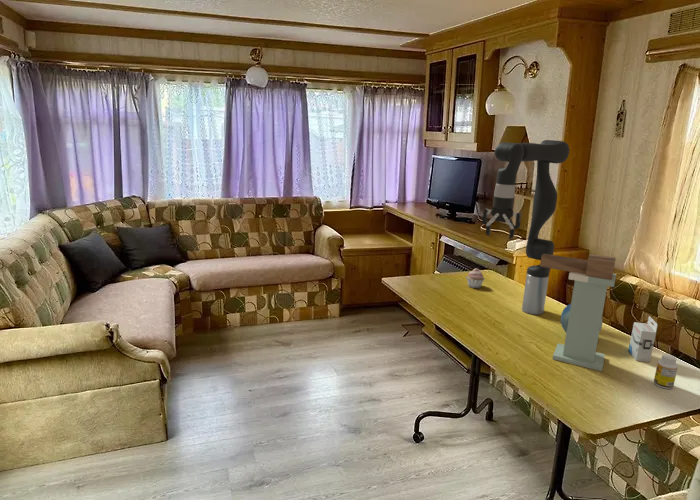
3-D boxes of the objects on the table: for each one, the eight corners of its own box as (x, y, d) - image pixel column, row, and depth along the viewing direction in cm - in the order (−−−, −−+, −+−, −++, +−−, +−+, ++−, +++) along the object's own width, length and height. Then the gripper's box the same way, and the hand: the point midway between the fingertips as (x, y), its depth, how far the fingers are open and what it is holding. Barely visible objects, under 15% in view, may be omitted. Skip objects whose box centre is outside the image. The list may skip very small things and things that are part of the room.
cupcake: (472, 290, 248) (474, 271, 245) (461, 284, 256) (463, 266, 253) (487, 288, 251) (489, 269, 248) (476, 283, 259) (478, 264, 257)
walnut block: (542, 262, 181) (545, 247, 179) (612, 274, 170) (615, 257, 169) (539, 267, 174) (541, 251, 173) (611, 280, 163) (614, 262, 162)
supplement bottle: (654, 379, 165) (660, 351, 162) (674, 385, 161) (680, 356, 159) (651, 385, 161) (657, 356, 158) (671, 391, 157) (678, 362, 155)
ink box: (627, 350, 186) (634, 314, 182) (641, 352, 185) (649, 315, 181) (635, 360, 178) (643, 322, 174) (650, 362, 177) (658, 324, 173)
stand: (557, 346, 186) (569, 265, 178) (604, 357, 179) (619, 273, 171) (552, 359, 176) (565, 273, 168) (601, 371, 169) (618, 282, 161)
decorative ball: (595, 333, 201) (601, 298, 197) (602, 348, 186) (609, 311, 183) (555, 328, 204) (561, 293, 201) (560, 342, 190) (566, 306, 187)
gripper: (525, 196, 189) (519, 237, 193) (488, 192, 196) (483, 232, 200) (521, 198, 182) (515, 241, 187) (483, 194, 189) (478, 235, 193)
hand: (499, 236), depth 193 cm, fingers open, 8 cm apart
